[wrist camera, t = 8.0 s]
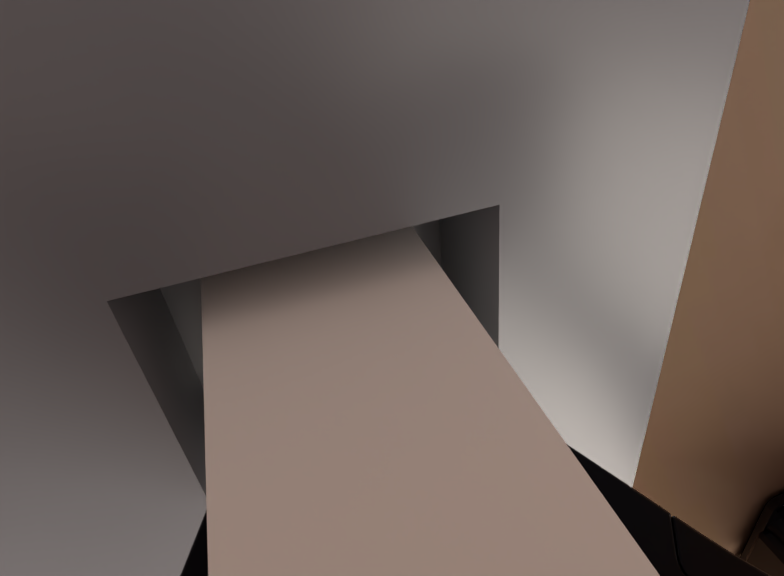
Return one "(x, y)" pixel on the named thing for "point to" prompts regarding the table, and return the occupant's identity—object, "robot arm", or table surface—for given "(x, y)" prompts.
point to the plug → (382, 431)
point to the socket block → (325, 217)
